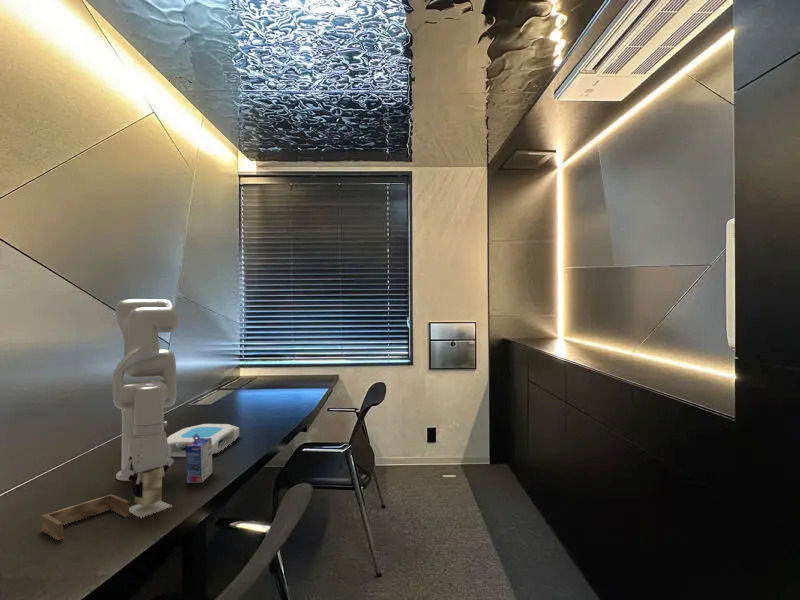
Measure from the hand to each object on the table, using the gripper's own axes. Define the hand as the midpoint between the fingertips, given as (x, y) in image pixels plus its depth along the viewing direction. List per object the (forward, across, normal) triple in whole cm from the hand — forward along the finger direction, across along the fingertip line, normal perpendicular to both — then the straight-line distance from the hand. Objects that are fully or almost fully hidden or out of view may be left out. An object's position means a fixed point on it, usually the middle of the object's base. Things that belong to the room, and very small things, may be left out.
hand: (148, 492), depth 137 cm
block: (+3, 0, 0) cm, 3 cm away
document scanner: (+5, -46, -42) cm, 63 cm away
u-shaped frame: (+5, +14, -4) cm, 15 cm away
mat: (+5, 0, 0) cm, 5 cm away
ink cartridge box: (+5, -23, -10) cm, 26 cm away
